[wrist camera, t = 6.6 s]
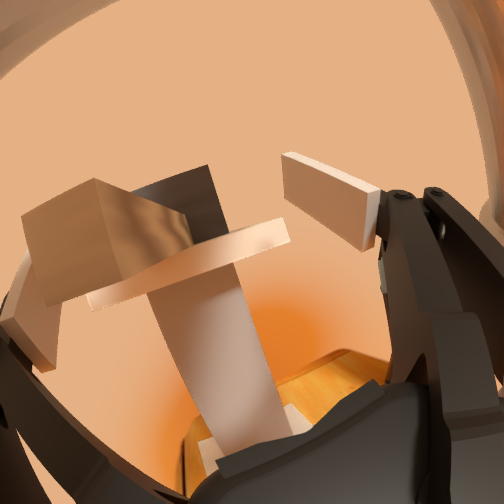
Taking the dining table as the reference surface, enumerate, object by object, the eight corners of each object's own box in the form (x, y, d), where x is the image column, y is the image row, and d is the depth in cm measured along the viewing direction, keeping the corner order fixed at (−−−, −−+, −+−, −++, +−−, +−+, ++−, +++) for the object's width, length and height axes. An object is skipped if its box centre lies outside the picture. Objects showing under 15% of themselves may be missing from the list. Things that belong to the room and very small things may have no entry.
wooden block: (150, 258, 34) (134, 204, 33) (228, 232, 34) (210, 177, 34) (-10, 328, 7) (-40, 157, 6) (245, 239, 7) (178, 31, 7)
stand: (202, 450, 36) (116, 270, 33) (294, 411, 41) (233, 230, 38) (226, 523, 21) (82, 286, 18) (348, 467, 25) (282, 217, 22)
